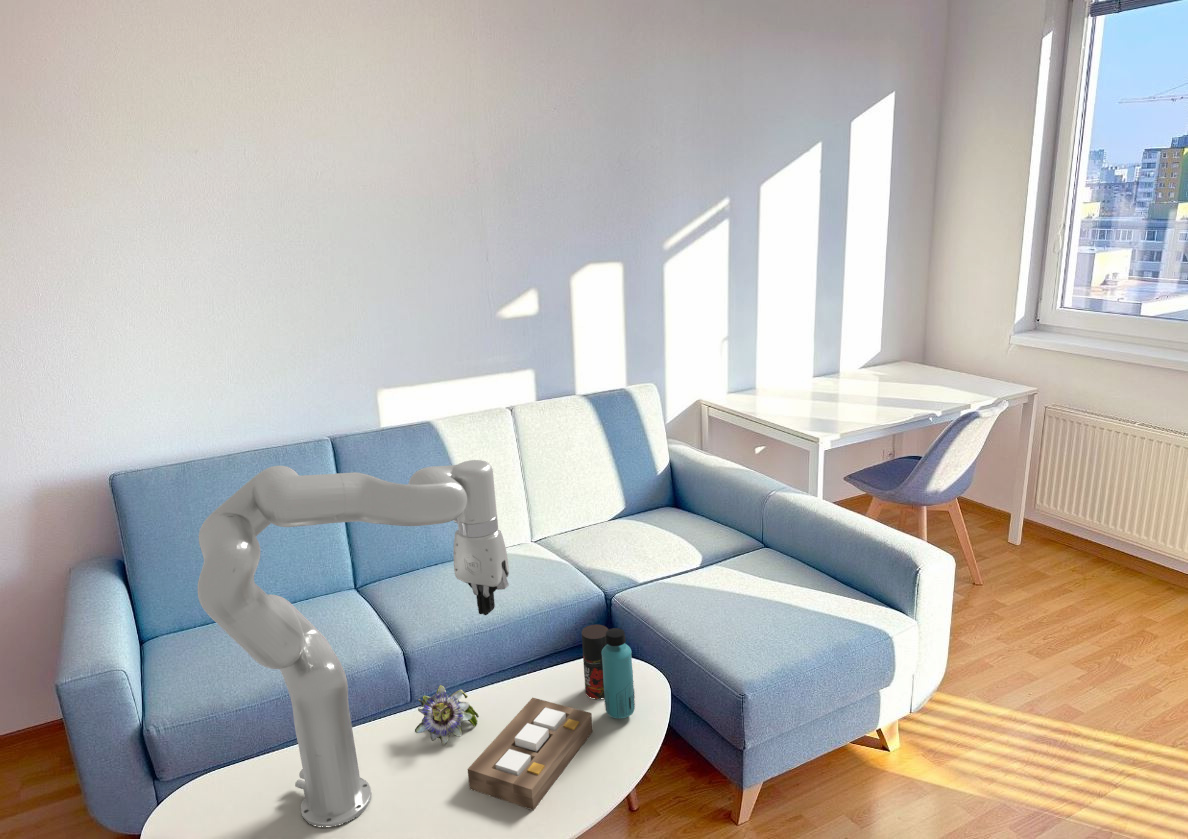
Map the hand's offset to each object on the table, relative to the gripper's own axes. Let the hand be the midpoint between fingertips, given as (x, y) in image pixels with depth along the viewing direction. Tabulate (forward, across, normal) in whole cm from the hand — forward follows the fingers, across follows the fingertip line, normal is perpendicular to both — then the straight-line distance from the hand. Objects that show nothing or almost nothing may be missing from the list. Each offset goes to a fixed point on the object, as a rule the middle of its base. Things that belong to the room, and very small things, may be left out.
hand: (486, 611), depth 163 cm
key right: (+26, +10, +4) cm, 28 cm away
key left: (+26, +10, -10) cm, 30 cm away
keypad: (+29, +10, -3) cm, 31 cm away
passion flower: (+29, -12, -2) cm, 32 cm away
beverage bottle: (+29, +20, +16) cm, 39 cm away
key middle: (+25, +10, -3) cm, 27 cm away
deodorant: (+29, +12, +22) cm, 39 cm away
